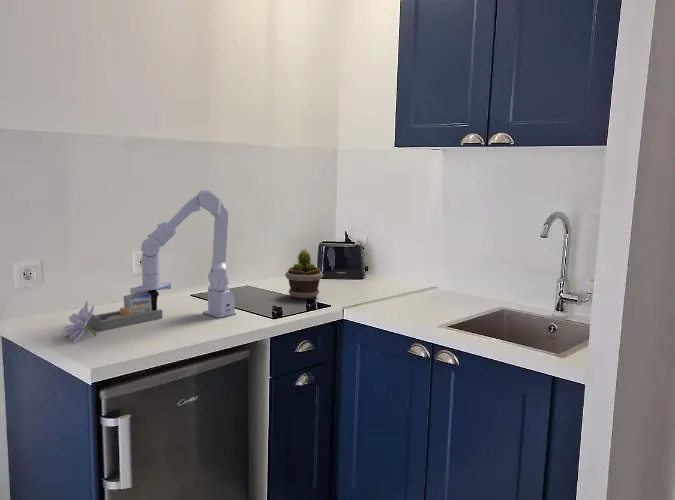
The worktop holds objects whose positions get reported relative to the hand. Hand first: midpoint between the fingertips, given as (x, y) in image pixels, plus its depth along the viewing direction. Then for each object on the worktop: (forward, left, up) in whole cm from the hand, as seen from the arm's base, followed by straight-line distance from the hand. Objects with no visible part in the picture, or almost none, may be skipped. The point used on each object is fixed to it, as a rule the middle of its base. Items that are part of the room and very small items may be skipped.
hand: (151, 311), depth 207 cm
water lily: (-6, +29, -2) cm, 29 cm away
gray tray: (0, +10, -2) cm, 10 cm away
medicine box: (0, +5, -2) cm, 5 cm away
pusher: (0, +13, -1) cm, 13 cm away
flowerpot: (-15, -59, -2) cm, 61 cm away
